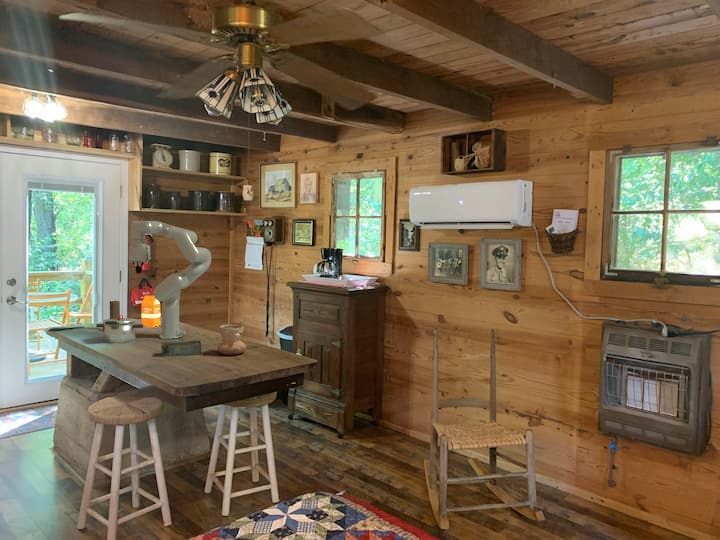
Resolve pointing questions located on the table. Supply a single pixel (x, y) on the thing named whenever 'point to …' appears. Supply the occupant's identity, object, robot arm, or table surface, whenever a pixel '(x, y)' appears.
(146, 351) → the table surface
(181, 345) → the grey-green rectangular block
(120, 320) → the lid
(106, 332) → the pot
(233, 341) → the ceramic jug
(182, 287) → the robot arm
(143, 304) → the orange juice
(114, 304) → the wooden block
